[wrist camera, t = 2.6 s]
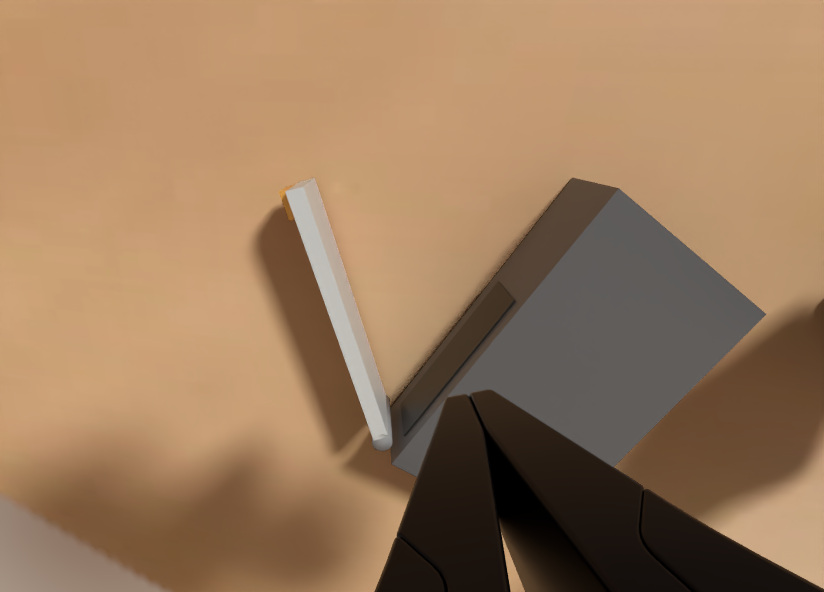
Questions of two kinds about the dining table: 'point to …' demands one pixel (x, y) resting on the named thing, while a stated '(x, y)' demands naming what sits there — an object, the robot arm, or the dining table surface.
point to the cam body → (583, 329)
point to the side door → (340, 305)
